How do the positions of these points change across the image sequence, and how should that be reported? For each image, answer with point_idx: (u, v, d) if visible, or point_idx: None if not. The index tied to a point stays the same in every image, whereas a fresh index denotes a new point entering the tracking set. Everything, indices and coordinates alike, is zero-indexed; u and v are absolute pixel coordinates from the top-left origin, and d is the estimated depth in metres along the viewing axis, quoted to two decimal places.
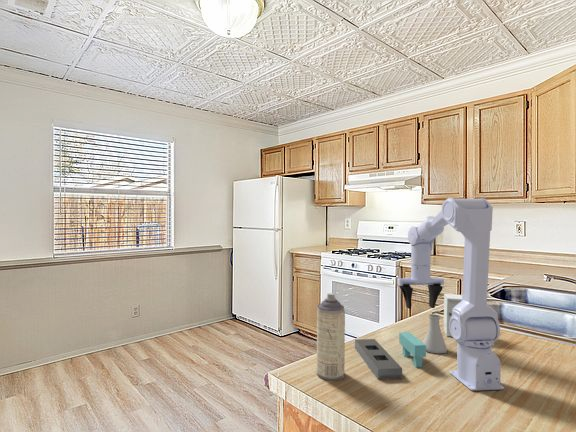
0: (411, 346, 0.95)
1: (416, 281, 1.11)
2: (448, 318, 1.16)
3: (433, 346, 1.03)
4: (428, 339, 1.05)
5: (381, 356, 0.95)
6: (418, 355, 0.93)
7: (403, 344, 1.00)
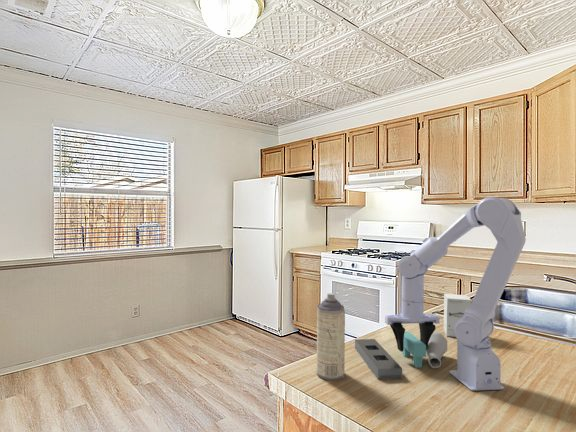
0: (411, 346, 0.95)
1: (407, 320, 0.95)
2: (448, 318, 1.16)
3: None
4: None
5: (381, 356, 0.95)
6: (418, 355, 0.93)
7: None
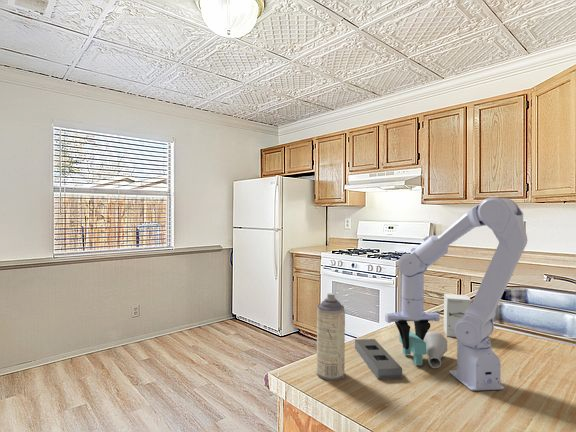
0: (411, 344, 0.95)
1: (407, 318, 0.95)
2: (448, 318, 1.16)
3: None
4: None
5: (381, 356, 0.95)
6: (418, 353, 0.93)
7: None
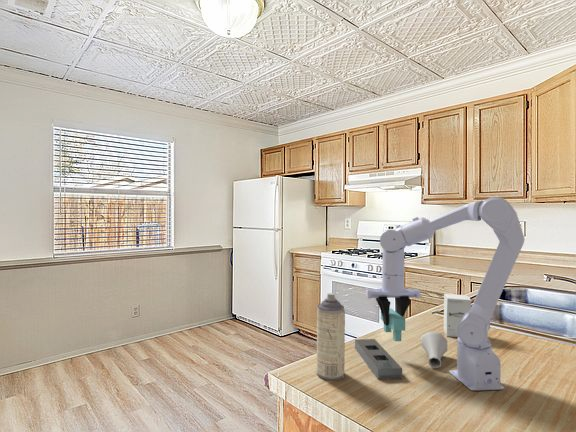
0: (391, 320, 0.94)
1: (387, 293, 0.94)
2: (448, 318, 1.16)
3: None
4: None
5: (381, 356, 0.95)
6: (397, 329, 0.92)
7: None
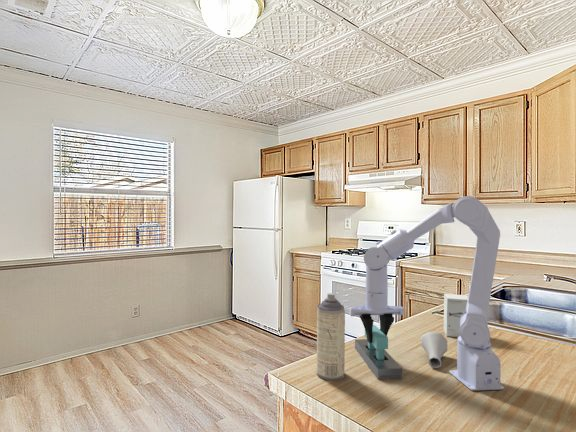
0: (374, 339, 0.94)
1: (370, 311, 0.94)
2: (448, 318, 1.16)
3: None
4: None
5: None
6: (380, 347, 0.92)
7: None
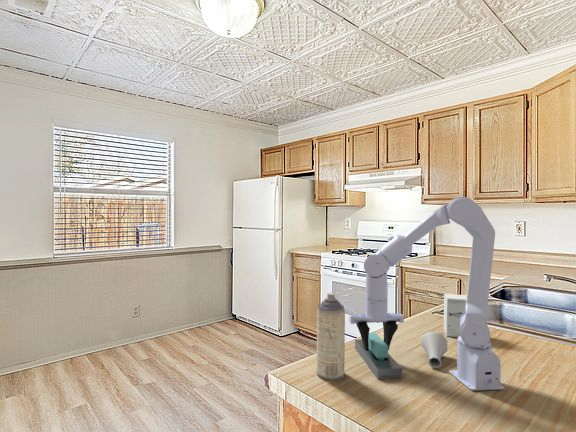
0: (374, 347, 0.94)
1: (370, 319, 0.94)
2: (448, 318, 1.16)
3: None
4: None
5: None
6: (380, 356, 0.92)
7: None
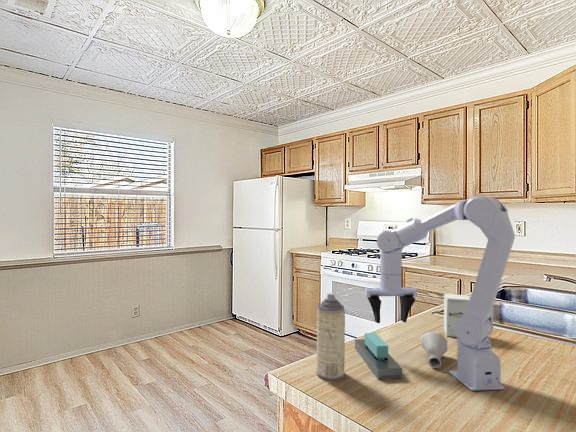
0: (374, 347, 0.94)
1: (385, 292, 0.99)
2: (448, 318, 1.16)
3: None
4: None
5: None
6: (380, 356, 0.92)
7: (368, 345, 0.99)
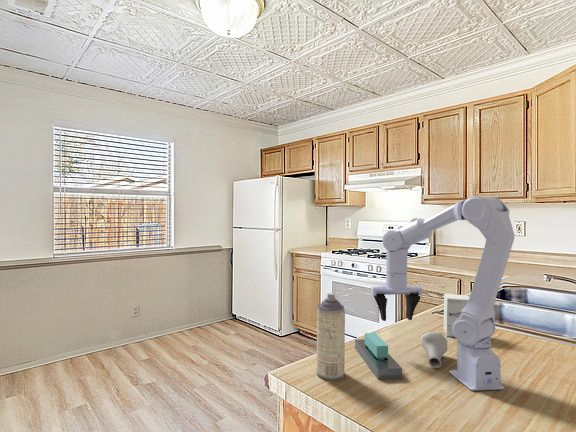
0: (374, 347, 0.94)
1: (391, 291, 1.01)
2: (448, 318, 1.16)
3: None
4: None
5: None
6: (380, 356, 0.92)
7: (367, 345, 0.99)
